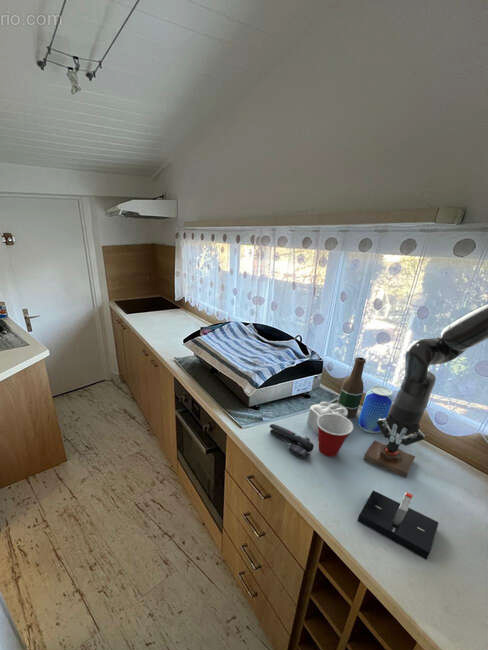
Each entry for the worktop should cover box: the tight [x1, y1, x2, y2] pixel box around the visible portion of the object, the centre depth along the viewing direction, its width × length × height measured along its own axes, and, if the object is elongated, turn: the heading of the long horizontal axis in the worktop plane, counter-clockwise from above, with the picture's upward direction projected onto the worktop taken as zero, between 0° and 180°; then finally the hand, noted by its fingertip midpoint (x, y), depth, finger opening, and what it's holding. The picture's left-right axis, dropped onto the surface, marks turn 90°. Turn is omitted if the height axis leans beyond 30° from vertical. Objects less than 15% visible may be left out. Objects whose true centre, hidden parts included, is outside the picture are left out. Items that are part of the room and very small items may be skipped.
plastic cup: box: [317, 413, 354, 458], centre depth 100 cm, size 11×11×12 cm
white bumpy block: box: [306, 401, 348, 435], centre depth 113 cm, size 10×13×9 cm
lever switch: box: [356, 489, 440, 560], centre depth 77 cm, size 15×11×3 cm
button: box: [385, 447, 398, 456], centre depth 97 cm, size 4×4×2 cm
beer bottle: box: [337, 356, 367, 419], centre depth 117 cm, size 8×8×24 cm
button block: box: [362, 440, 416, 479], centre depth 98 cm, size 12×10×4 cm
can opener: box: [269, 423, 315, 459], centre depth 105 cm, size 18×7×6 cm, turn 32°
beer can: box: [357, 385, 394, 434], centre depth 111 cm, size 8×8×16 cm
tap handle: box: [392, 492, 414, 528], centre depth 75 cm, size 6×2×6 cm, turn 136°
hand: (391, 450), depth 97 cm, fingers closed
